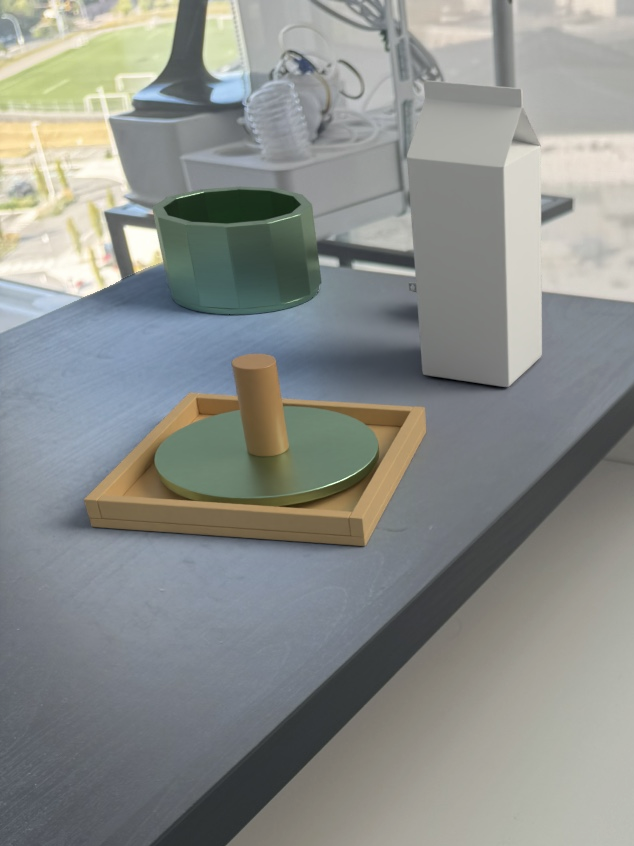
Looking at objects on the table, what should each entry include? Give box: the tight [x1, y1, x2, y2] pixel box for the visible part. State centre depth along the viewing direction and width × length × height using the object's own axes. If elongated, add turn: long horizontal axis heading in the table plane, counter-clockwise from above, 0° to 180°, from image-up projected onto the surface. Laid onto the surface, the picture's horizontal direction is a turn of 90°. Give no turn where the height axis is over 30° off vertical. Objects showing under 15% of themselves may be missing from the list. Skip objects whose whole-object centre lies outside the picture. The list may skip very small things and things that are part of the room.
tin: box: [151, 185, 322, 316], centre depth 101 cm, size 13×13×7 cm
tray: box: [83, 392, 427, 547], centre depth 74 cm, size 17×17×2 cm
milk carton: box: [406, 79, 543, 388], centre depth 84 cm, size 7×7×19 cm
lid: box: [154, 353, 379, 507], centre depth 72 cm, size 14×14×7 cm
